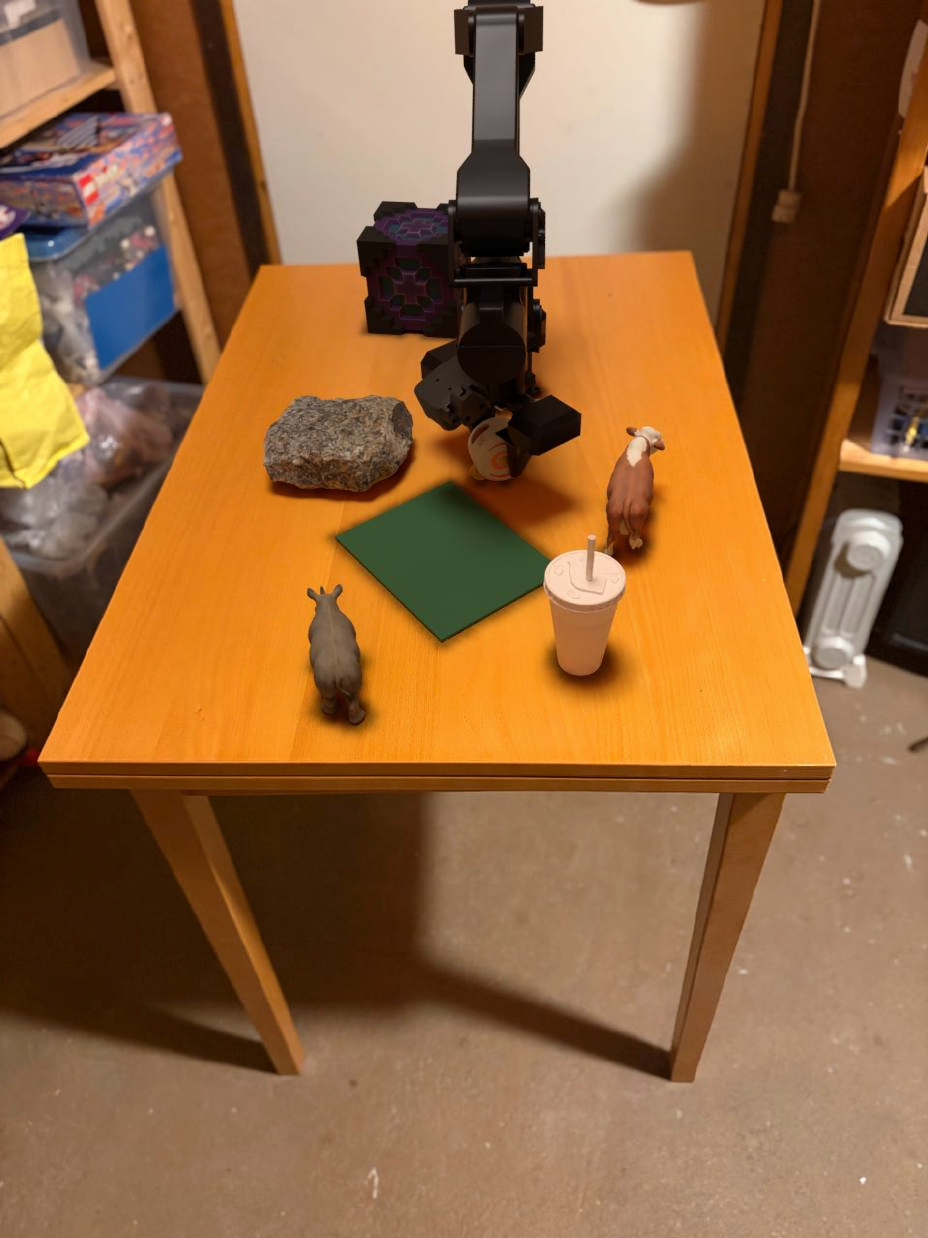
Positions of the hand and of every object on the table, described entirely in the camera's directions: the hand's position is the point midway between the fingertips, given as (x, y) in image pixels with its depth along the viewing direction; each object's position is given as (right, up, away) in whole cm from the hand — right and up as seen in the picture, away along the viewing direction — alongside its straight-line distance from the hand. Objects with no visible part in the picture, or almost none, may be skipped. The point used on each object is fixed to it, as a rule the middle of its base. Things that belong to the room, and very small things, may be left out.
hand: (499, 464), depth 97 cm
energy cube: (-9, +24, +26) cm, 37 cm away
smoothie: (+6, -20, -18) cm, 27 cm away
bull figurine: (+13, -7, -6) cm, 15 cm away
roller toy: (0, -1, +1) cm, 1 cm away
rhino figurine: (-14, -20, -17) cm, 30 cm away
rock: (-17, 0, +3) cm, 17 cm away
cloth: (-5, -10, -8) cm, 14 cm away
